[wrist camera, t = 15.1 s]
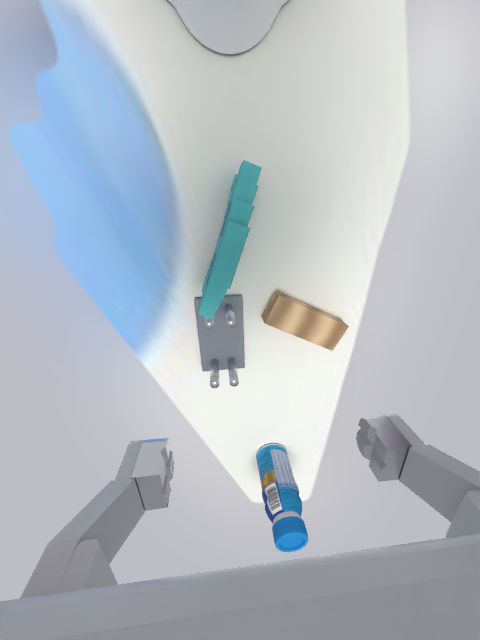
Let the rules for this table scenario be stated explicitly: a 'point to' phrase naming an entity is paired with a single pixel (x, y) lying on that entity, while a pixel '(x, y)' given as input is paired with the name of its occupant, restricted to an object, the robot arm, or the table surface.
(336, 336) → the brown wooden block
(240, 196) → the alien figure
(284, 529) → the beverage bottle
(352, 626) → the robot arm
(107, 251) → the table surface
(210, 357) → the peg rack
